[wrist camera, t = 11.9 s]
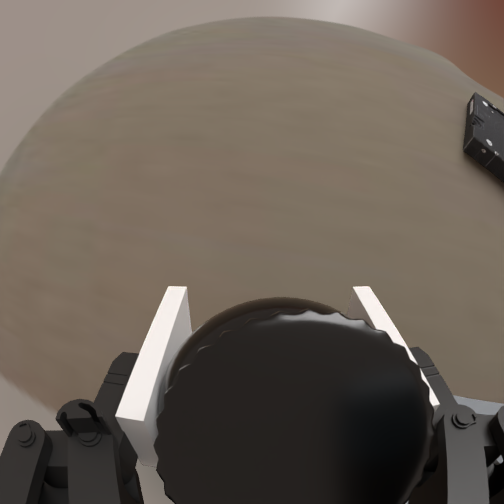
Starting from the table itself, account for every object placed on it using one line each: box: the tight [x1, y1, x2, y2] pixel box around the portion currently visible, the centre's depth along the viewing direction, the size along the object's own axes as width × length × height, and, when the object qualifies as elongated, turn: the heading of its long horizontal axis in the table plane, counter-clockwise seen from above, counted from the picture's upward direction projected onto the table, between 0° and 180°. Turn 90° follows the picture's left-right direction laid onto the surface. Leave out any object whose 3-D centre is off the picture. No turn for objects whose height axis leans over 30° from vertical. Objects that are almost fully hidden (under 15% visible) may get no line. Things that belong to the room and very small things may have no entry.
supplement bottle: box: [153, 297, 435, 504], centre depth 9 cm, size 7×7×12 cm
